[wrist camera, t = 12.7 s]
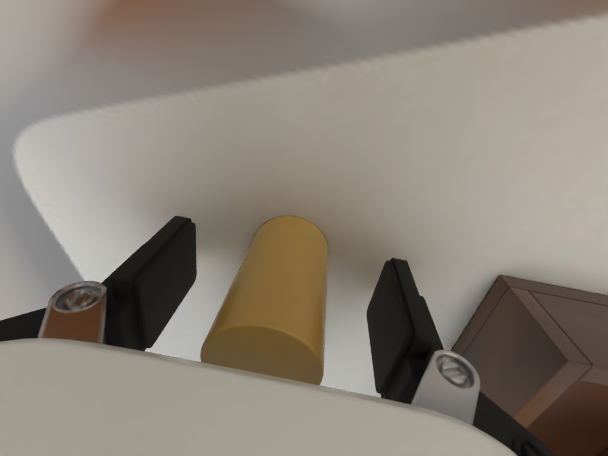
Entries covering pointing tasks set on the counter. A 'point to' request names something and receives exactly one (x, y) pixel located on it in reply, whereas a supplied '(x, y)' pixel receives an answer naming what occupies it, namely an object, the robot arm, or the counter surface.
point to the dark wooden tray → (544, 361)
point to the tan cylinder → (275, 305)
